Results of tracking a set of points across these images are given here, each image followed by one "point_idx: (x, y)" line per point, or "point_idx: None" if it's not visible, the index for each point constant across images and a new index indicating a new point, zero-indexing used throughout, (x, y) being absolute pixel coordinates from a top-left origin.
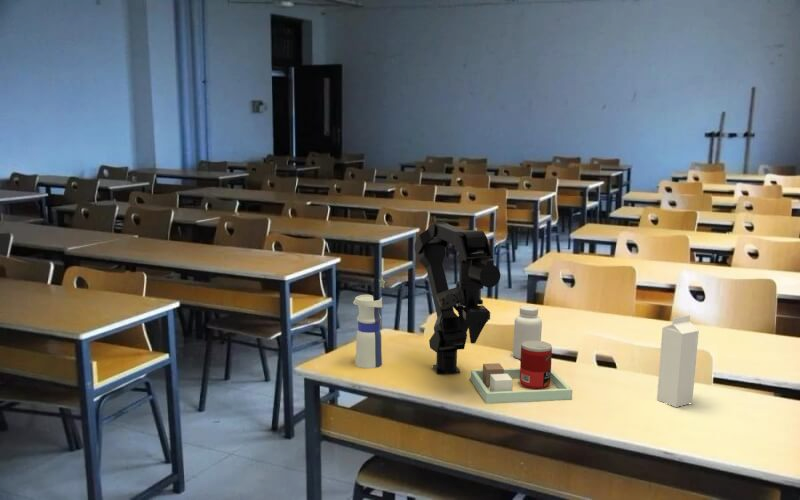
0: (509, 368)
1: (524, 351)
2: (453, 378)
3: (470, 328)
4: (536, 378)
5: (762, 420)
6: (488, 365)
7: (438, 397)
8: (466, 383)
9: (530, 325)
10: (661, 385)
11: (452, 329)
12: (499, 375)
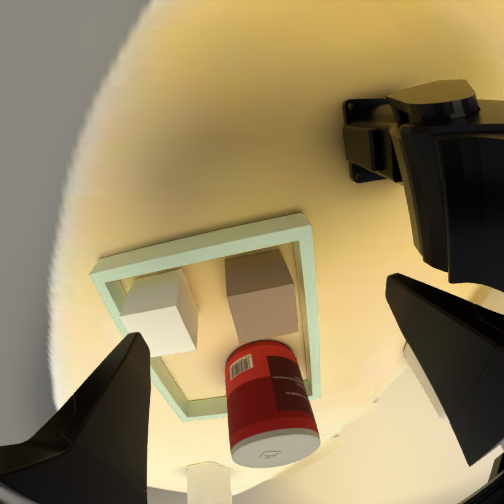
0: (318, 334)
1: (252, 428)
2: (305, 154)
3: (51, 424)
4: (226, 388)
5: (176, 486)
6: (274, 301)
7: (114, 108)
8: (258, 198)
9: (442, 407)
10: (206, 480)
11: (456, 205)
12: (171, 330)
